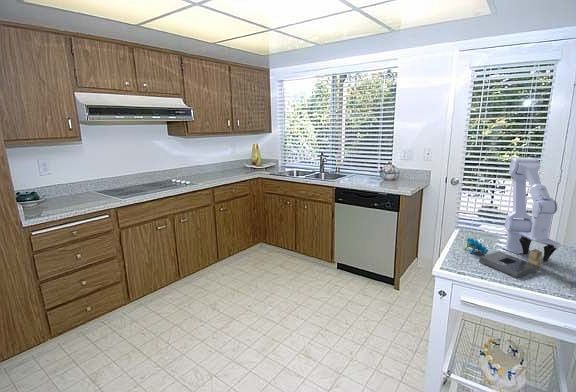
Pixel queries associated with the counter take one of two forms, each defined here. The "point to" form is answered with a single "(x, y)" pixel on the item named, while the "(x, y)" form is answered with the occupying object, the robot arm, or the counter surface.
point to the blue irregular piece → (475, 246)
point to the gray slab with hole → (512, 268)
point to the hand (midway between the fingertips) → (535, 257)
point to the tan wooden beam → (535, 257)
